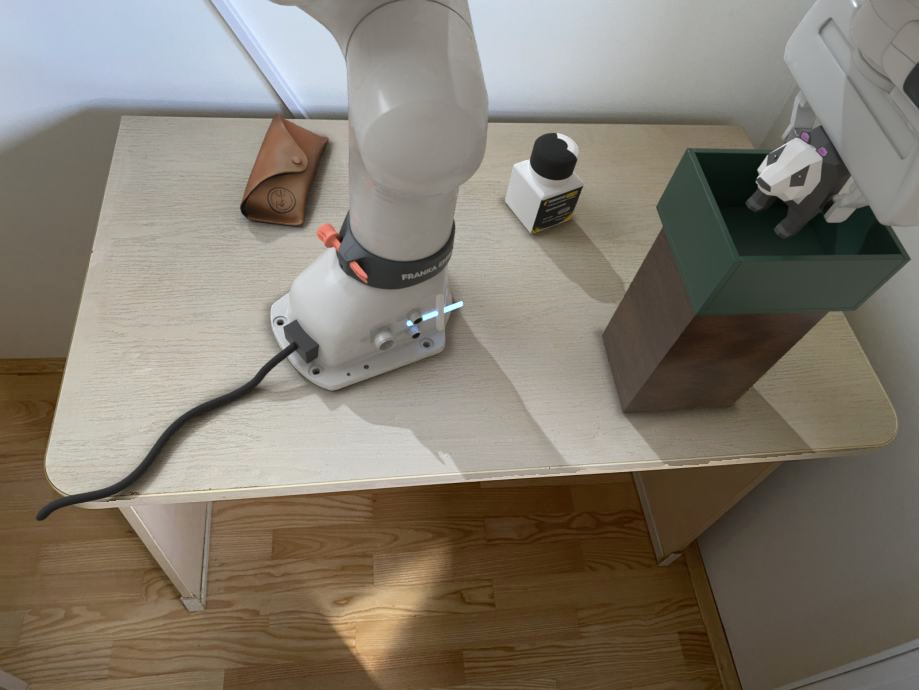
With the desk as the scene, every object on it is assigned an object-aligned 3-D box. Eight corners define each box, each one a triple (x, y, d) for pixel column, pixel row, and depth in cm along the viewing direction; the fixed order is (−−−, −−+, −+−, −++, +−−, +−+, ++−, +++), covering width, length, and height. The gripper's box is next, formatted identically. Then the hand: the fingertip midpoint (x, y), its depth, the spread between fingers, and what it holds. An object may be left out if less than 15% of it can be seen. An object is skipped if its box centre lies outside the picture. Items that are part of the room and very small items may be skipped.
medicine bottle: (530, 235, 92) (551, 170, 82) (503, 201, 95) (520, 134, 85) (571, 220, 94) (596, 155, 84) (543, 187, 97) (564, 120, 87)
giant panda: (808, 169, 62) (874, 81, 54) (854, 208, 60) (929, 122, 52) (700, 219, 57) (756, 129, 49) (745, 265, 54) (812, 178, 46)
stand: (622, 413, 78) (702, 305, 60) (601, 335, 84) (668, 215, 66) (730, 407, 81) (839, 301, 62) (702, 332, 87) (795, 215, 68)
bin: (695, 315, 59) (735, 261, 53) (655, 207, 66) (686, 147, 60) (855, 311, 62) (911, 259, 56) (800, 207, 69) (845, 150, 62)
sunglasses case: (306, 226, 87) (275, 190, 82) (263, 238, 90) (230, 204, 85) (331, 135, 97) (304, 98, 92) (291, 148, 99) (264, 113, 94)
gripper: (824, -60, 49) (734, 97, 60) (966, 127, 38) (825, 275, 50) (898, -54, 50) (796, 99, 62) (1057, 129, 39) (898, 273, 51)
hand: (810, 179), depth 56 cm, fingers closed on giant panda, 7 cm apart
